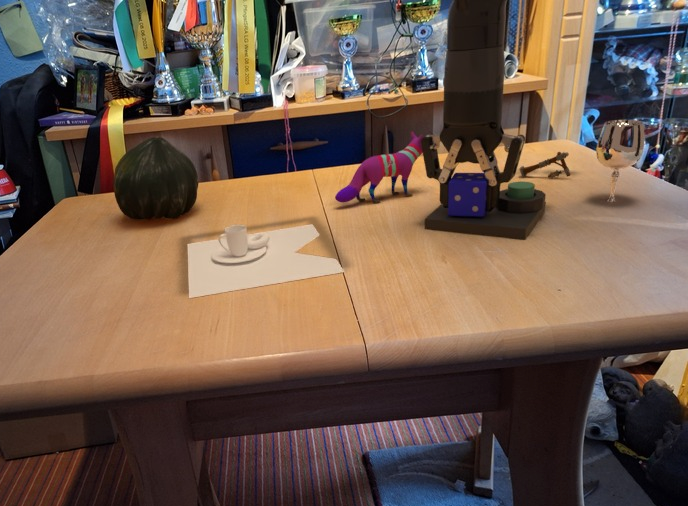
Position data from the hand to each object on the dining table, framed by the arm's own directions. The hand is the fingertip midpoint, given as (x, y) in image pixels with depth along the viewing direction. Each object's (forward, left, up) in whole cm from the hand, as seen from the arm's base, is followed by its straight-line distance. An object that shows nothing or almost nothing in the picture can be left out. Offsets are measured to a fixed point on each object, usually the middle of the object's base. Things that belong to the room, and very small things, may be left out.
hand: (468, 207), depth 81 cm
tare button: (-6, -5, +1) cm, 8 cm away
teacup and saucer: (+23, +21, -3) cm, 31 cm away
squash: (+52, +11, -3) cm, 53 cm away
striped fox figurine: (+17, -8, -3) cm, 19 cm away
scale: (-2, -2, -2) cm, 4 cm away
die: (0, 0, -1) cm, 1 cm away
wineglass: (-17, -13, -3) cm, 22 cm away
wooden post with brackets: (-5, -27, -3) cm, 27 cm away
